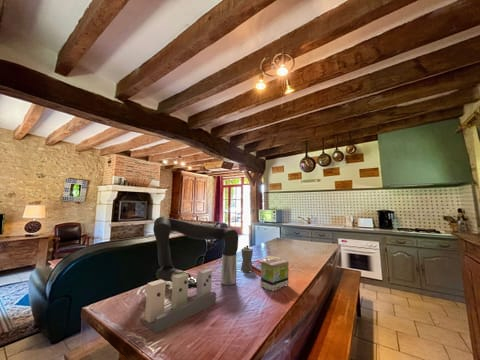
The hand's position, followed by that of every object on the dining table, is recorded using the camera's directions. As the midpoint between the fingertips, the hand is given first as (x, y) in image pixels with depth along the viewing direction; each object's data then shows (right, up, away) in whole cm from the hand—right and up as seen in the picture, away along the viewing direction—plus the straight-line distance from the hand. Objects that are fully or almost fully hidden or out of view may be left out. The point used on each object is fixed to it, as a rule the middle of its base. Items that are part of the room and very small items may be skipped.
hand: (200, 287), depth 101 cm
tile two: (-8, -4, -9) cm, 13 cm away
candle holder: (+43, -13, +39) cm, 60 cm away
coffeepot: (+25, -14, +51) cm, 58 cm away
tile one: (-16, -3, -18) cm, 24 cm away
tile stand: (-7, -6, -10) cm, 14 cm away
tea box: (+41, -11, +20) cm, 47 cm away
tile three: (+2, -5, -2) cm, 6 cm away
